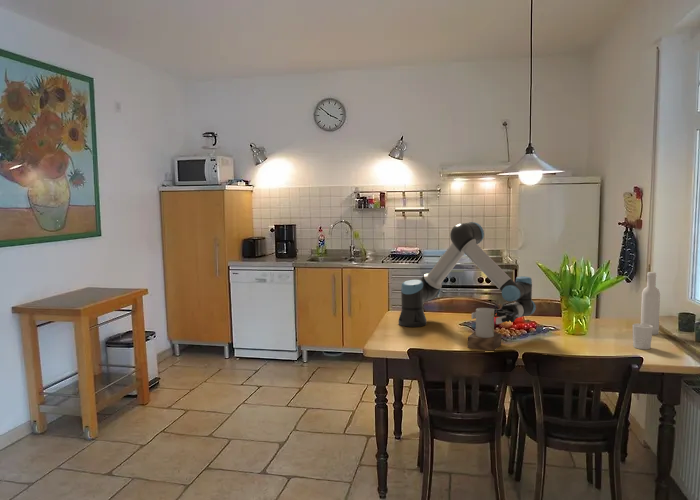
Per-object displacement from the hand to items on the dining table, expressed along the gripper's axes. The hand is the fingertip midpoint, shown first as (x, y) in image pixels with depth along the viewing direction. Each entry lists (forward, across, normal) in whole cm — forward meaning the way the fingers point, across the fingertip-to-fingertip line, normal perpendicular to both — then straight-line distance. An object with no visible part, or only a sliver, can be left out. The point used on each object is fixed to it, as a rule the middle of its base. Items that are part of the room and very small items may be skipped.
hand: (484, 318), depth 238 cm
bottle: (-78, -39, -13) cm, 89 cm away
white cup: (-50, -48, -13) cm, 71 cm away
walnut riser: (-1, 0, -13) cm, 13 cm away
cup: (-1, 0, -8) cm, 8 cm away
